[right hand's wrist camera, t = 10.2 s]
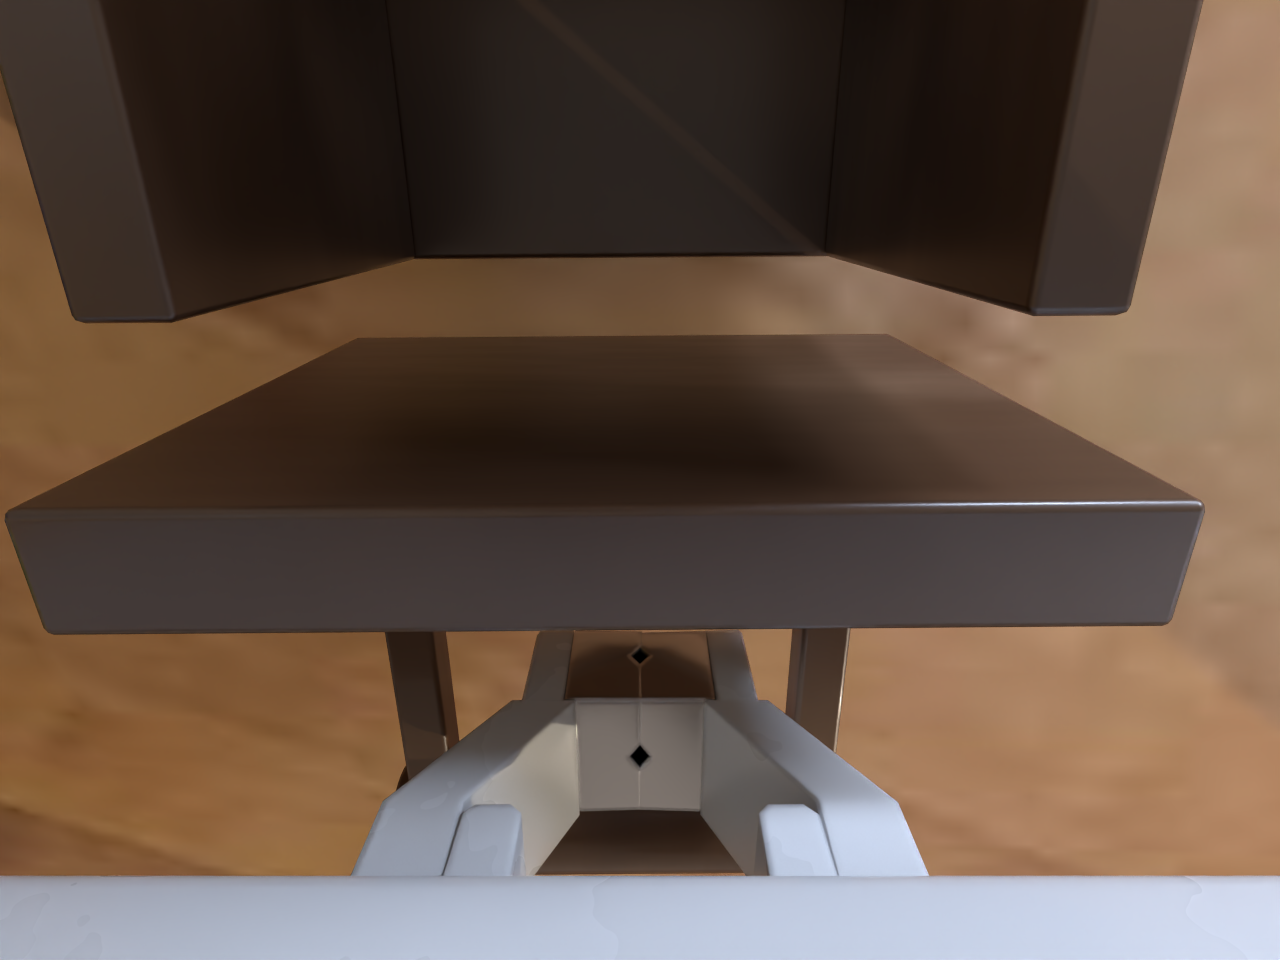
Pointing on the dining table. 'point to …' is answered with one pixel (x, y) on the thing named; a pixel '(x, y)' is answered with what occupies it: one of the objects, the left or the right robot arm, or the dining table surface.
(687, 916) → the right robot arm
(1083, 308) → the drawer
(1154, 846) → the dining table surface
